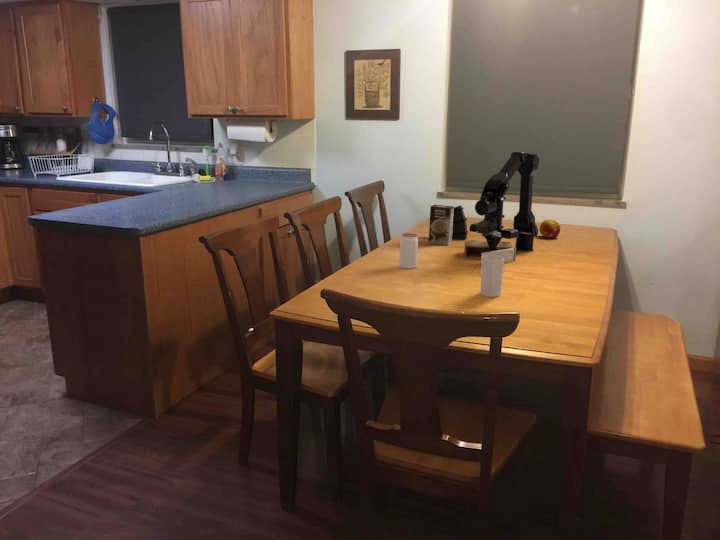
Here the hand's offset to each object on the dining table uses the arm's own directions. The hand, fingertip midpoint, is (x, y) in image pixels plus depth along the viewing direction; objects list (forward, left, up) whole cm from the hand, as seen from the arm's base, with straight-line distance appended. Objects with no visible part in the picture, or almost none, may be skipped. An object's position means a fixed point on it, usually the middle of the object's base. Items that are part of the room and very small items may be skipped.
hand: (491, 252), depth 233 cm
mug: (+3, +44, -4) cm, 45 cm away
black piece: (+15, -40, -4) cm, 43 cm away
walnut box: (+1, -9, -4) cm, 9 cm away
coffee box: (+20, -29, -4) cm, 35 cm away
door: (-3, +3, -4) cm, 5 cm away
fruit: (-29, -51, -4) cm, 59 cm away
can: (+31, +14, -4) cm, 34 cm away
